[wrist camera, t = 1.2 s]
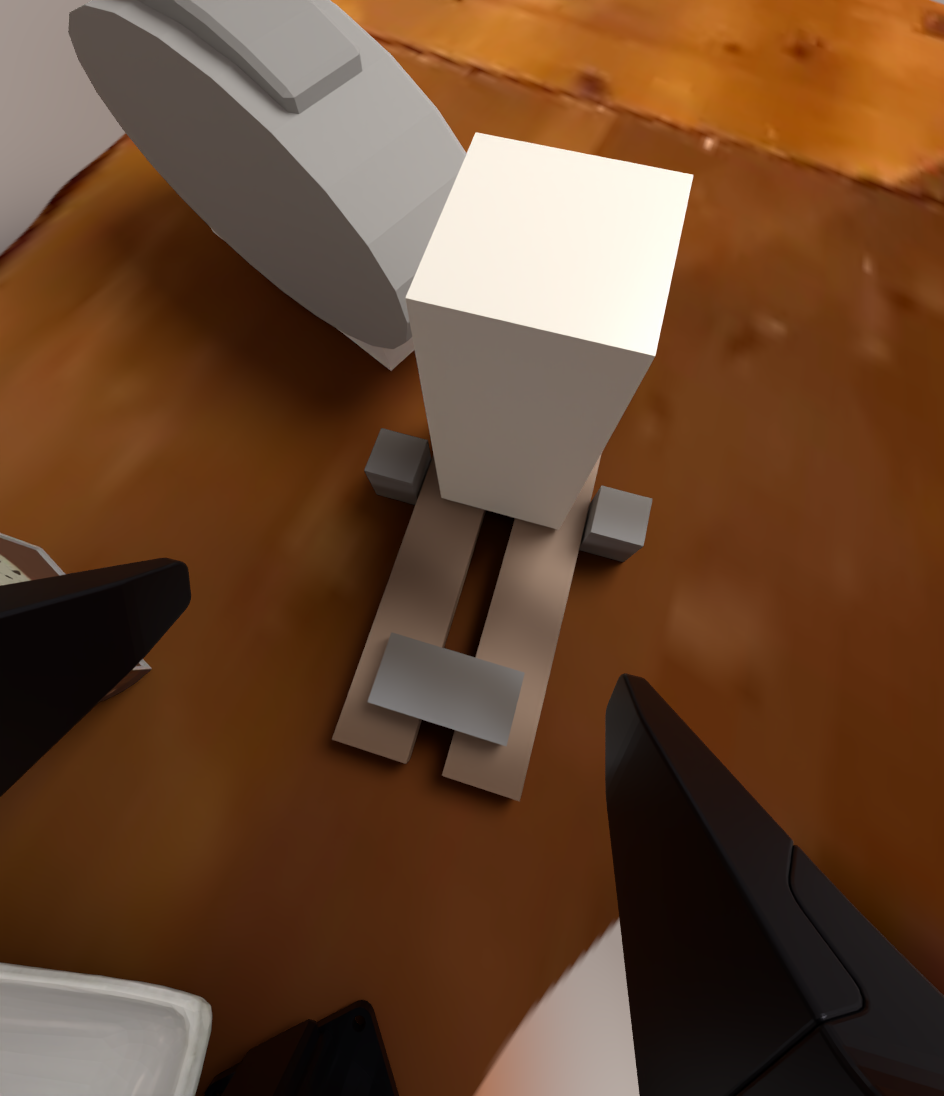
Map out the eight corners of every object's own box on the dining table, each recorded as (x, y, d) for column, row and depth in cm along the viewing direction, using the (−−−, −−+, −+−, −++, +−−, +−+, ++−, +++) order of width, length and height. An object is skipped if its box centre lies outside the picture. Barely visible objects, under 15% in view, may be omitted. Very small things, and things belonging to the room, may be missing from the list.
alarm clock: (494, 344, 27) (510, 58, 14) (423, 410, 25) (376, 158, 13) (245, 165, 31) (98, -167, 19) (174, 214, 30) (-33, -110, 18)
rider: (555, 535, 22) (655, 356, 10) (442, 505, 23) (405, 297, 11) (580, 435, 24) (693, 175, 12) (475, 409, 25) (475, 132, 12)
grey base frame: (572, 812, 19) (589, 835, 16) (289, 719, 20) (259, 725, 18) (667, 342, 26) (691, 301, 24) (454, 293, 28) (452, 248, 25)
